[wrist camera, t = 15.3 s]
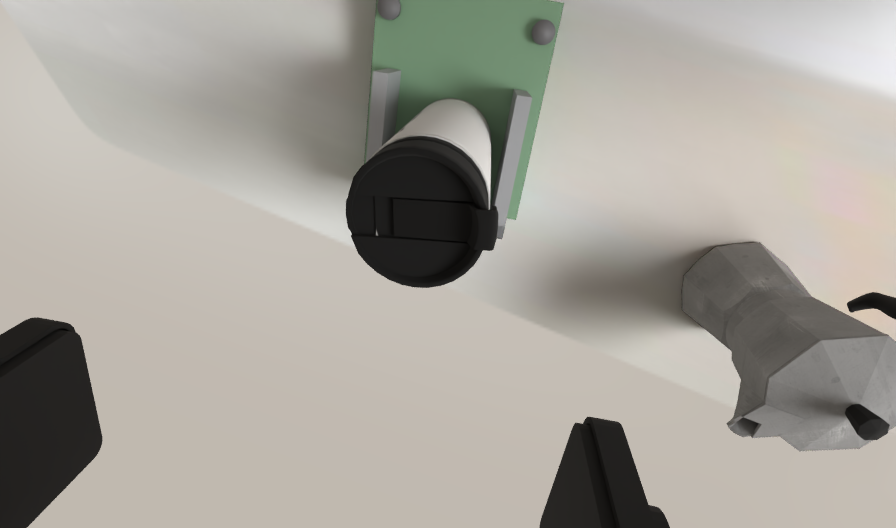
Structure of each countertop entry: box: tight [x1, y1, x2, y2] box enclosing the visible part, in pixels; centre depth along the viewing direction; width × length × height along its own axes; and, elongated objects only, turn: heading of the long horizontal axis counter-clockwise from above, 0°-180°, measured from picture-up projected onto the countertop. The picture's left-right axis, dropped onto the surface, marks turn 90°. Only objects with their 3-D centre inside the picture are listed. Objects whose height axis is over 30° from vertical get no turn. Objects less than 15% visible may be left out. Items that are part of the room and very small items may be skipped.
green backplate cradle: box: [364, 0, 564, 239], centre depth 35 cm, size 16×13×8 cm
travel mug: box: [346, 98, 499, 288], centre depth 28 cm, size 6×7×20 cm
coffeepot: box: [682, 242, 896, 451], centre depth 35 cm, size 15×9×18 cm, turn 121°
